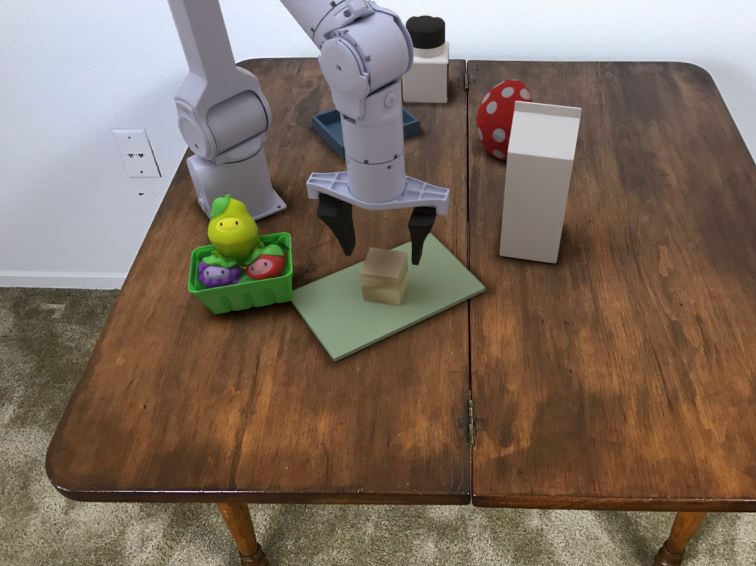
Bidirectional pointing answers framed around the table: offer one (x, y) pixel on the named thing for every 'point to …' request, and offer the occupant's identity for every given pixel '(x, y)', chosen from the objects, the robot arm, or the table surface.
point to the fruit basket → (240, 262)
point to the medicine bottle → (427, 61)
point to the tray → (331, 128)
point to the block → (384, 276)
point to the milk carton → (538, 179)
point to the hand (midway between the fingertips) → (383, 254)
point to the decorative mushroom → (499, 116)
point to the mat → (378, 320)
